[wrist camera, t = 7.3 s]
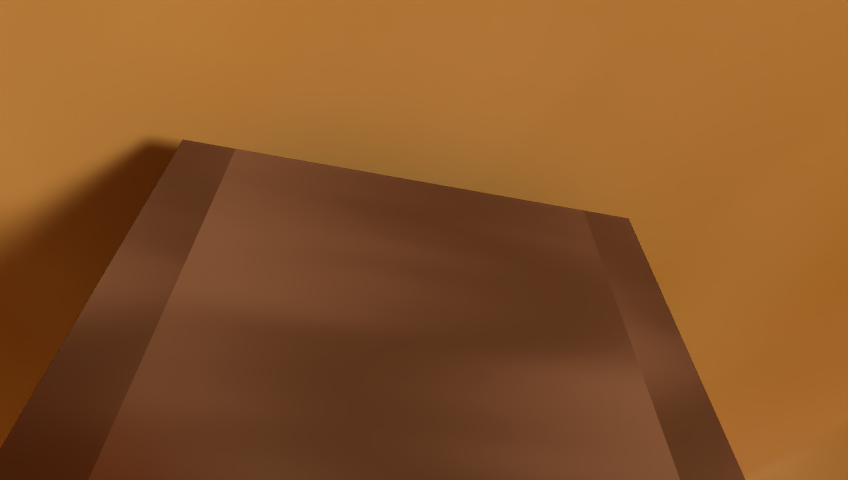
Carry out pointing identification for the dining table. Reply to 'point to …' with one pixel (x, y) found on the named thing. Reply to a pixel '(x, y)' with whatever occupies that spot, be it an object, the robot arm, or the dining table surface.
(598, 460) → the box
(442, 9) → the dining table surface
